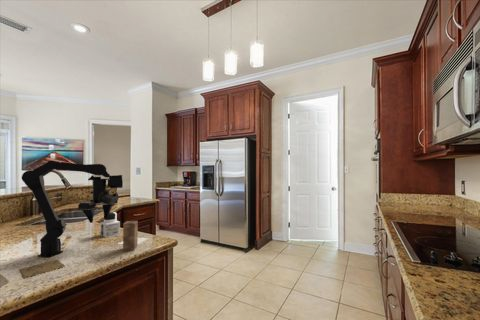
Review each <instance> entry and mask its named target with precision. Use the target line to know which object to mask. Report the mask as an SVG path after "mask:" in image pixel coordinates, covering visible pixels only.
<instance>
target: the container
mask: <svg viewBox="0 0 480 320" xmlns="http://www.w3.org/2000/svg"><path fill="white" fill-rule="evenodd" d="M117 217H118V214H117V212H115V211H110V213H109V215H108V218H105V216H104V215H103V221H100V222H99V223H100V225H99V226H100V228H99V229H100V230H99V232H100V233H99V235H100V236H101V237H104V238H110V237H114V236H118V235H120V233H121V221H119V220H118V219H117Z"/></svg>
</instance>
